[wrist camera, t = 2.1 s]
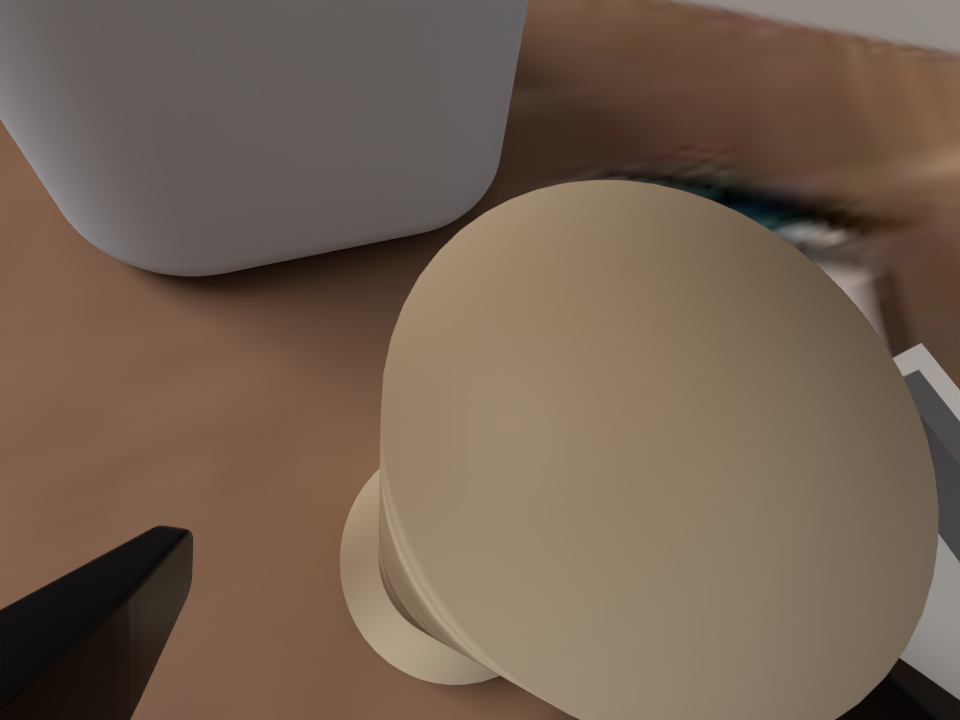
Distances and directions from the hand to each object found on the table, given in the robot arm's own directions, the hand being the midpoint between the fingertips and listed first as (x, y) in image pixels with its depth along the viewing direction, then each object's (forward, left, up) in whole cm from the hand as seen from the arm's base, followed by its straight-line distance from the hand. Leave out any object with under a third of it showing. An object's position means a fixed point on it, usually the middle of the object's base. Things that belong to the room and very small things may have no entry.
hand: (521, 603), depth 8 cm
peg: (+1, -1, -9) cm, 9 cm away
